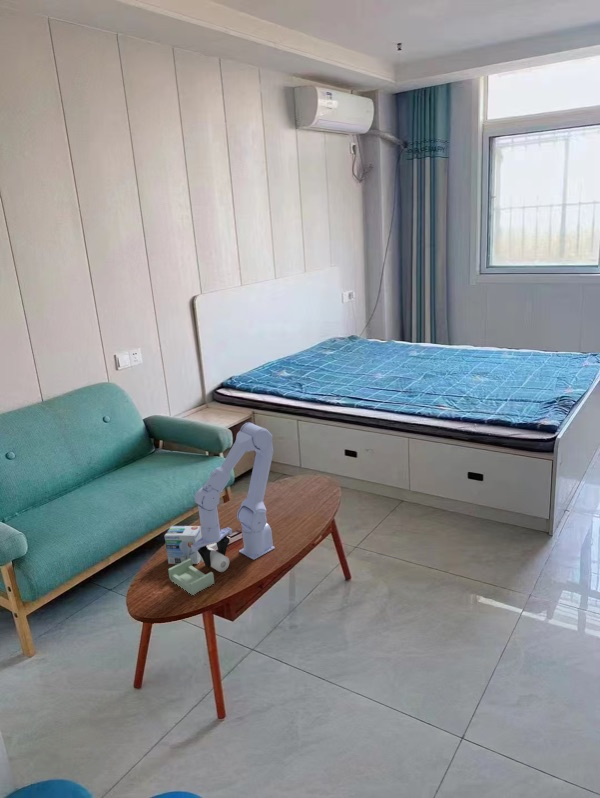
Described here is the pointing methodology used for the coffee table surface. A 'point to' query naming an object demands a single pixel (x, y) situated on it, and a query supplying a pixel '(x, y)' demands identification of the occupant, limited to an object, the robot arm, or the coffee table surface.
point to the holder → (190, 577)
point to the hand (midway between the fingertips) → (215, 562)
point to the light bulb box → (182, 544)
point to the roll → (218, 560)
